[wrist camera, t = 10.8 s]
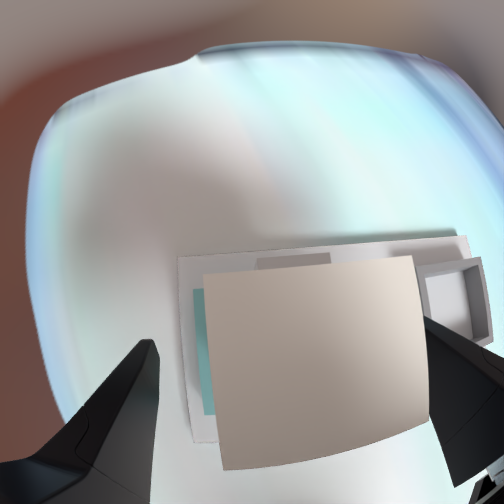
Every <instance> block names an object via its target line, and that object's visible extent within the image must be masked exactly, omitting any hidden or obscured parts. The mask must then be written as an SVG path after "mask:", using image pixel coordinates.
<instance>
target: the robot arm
mask: <svg viewBox="0 0 504 504" xmlns="http://www.w3.org/2000/svg"><path fill="white" fill-rule="evenodd" d="M423 321H424V329H425V338H426V349H427V361H428V380H429V415H430V418H431V421H432V423H433V426H434V428H435V431H436V434H437V436H438V439H439V442H440V445H441V447H442V451H443V454H444V457H445V460H446V463H447V466H448V469H449V473H450V476H451V479H452V483H453V486H454V488H455V487H457V486H459V485H461V484H462V483H464V482H465V481H467V480H469V479H470V478H472V477H473V476H475V475H476V474H478V473H479V472H481V471H482V470H484V469H485V468H486V470H487V472H488V474H486V475H485V476H484V477H482V478H481V479H480V480H479V481H477V482H476V483H475V486H474V489H473V492H472V495H471V498H470V501H469V504H504V358H502V357H500V356H498V355H496V354H494V353H492V352H491V351H489V350H487V349H485V348H483V347H482V346H479V345H478V344H476V343H474V342H472V341H471V340H469V339H467V338H465V337H463V336H462V335H460V334H458V333H456V332H454V331H452V330H450V329H449V328H447V327H445V326H443V325H441V324H439V323H437V322H436V321H434V320H432V319H430V318H428V317H426V316H424V315H423ZM159 374H160V357H159V354H158V351H157V348H156V346H155V343H154V341H153V340H152V339H142V340H140V341H139V342H138V343H137V344H136V346H135V347H134V348H133V349H132V350H131V351H130V352H129V353H128V355H127V356H126V357H125V358H124V359H123V360H122V361H121V362H120V364H119V365H118V366H117V367H116V368H115V369H114V370H113V371H112V373H111V374H110V375H109V376H108V377H107V378H106V379H105V381H104V382H103V383H102V384H101V385H100V386H99V387H98V389H97V390H96V391H95V392H94V393H93V394H92V395H91V397H90V398H89V399H88V400H87V401H86V402H85V404H84V406H82V407H81V408H80V409H79V410H78V412H77V413H76V414H75V415H74V416H73V417H72V418H71V419H70V421H69V422H68V423H67V424H66V425H65V426H64V427H63V428H62V429H61V430H60V431H59V432H58V433H57V434H55V435H54V436H53V437H52V438H51V439H50V440H49V441H48V442H47V443H46V444H45V445H44V446H43V447H42V448H41V449H40V450H38V451H37V452H36V453H35V454H33V455H32V456H29V457H27V458H24V459H19V460H13V461H7V462H1V463H0V504H150V503H149V502H150V488H151V473H152V460H153V449H154V439H155V429H156V420H157V412H158V404H159Z"/></svg>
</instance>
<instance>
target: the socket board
mask: <svg viewBox="0 0 504 504" xmlns="http://www.w3.org/2000/svg"><path fill="white" fill-rule="evenodd" d="M327 252H330V257H331V263H341V262H352V261H362V260H371V259H381V258H390V257H400V256H409V255H412V259H413V264H414V268H415V273H416V278H417V283H418V289H419V295H420V301H421V307H422V314H423V315H424V316H426V317H428V318H430V319H432V320H434V321H436V322H437V323H439V324H441V325H443V326H445V327H447V328H449V329H450V330H452V331H454V332H456V333H458V334H460V335H462V336H463V337H465V338H467V339H469V340H471V341H472V342H474V343H476V344H478V345H479V346H482V347H483V348H485V349H486V345H488V344H490V343H492V342H493V329H492V319H491V311H490V304H489V297H488V291H487V285H486V280H485V275H484V270H483V266H482V261H481V257H475V258H472V255H471V251H470V247H469V243H468V240H467V236H466V235H463V236H450V237H437V238H423V239H410V240H396V241H383V242H370V243H357V244H343V245H330V246H317V247H304V248H290V249H277V250H264V251H251V252H238V253H224V254H211V255H198V256H185V257H177V260H178V291H179V311H180V327H181V341H182V353H183V364H184V374H185V383H186V392H187V400H188V408H189V416H190V423H191V430H192V436H193V442H194V443H217V442H219V438H218V430H217V423H216V415H215V407H214V399H213V390H212V381H211V371H210V361H209V351H208V340H207V328H206V315H205V301H204V285H203V274H214V273H227V272H240V271H252V270H254V267H255V263H256V259H257V258H265V257H278V256H290V255H302V254H315V253H327Z"/></svg>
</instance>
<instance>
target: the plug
mask: <svg viewBox="0 0 504 504" xmlns="http://www.w3.org/2000/svg"><path fill="white" fill-rule="evenodd" d="M203 285H204V301H205V315H206V328H207V340H208V351H209V361H210V371H211V381H212V390H213V399H214V407H215V415H216V423H217V430H218V438H219V445H220V451H221V458H222V464H223V470H240V469H252V468H262V467H270V466H278V465H284V464H291V463H296V462H302V461H307V460H312V459H317V458H321V457H326V456H330V455H334V454H338V453H342V452H345V451H349V450H352V449H356V448H359V447H362V446H366V445H369V444H372V443H375V442H378V441H381V440H383V439H386V438H389V437H392V436H394V435H397V434H399V433H402V432H404V431H407V430H409V429H412V428H414V427H416V426H419V425H421V424H423V423H425V422H427V421H429V380H428V361H427V349H426V338H425V329H424V321H423V314H422V307H421V301H420V295H419V289H418V283H417V278H416V273H415V268H414V264H413V259H412V255H409V256H400V257H390V258H381V259H371V260H362V261H352V262H341V263H331V257H330V252H327V253H315V254H302V255H290V256H278V257H265V258H257V259H256V263H255V267H254V270H252V271H240V272H227V273H214V274H203Z"/></svg>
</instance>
